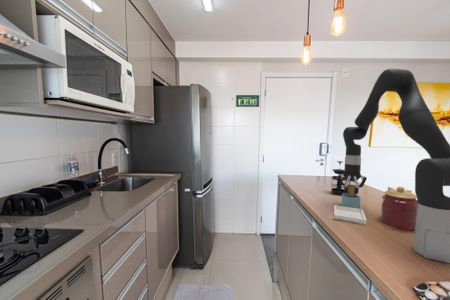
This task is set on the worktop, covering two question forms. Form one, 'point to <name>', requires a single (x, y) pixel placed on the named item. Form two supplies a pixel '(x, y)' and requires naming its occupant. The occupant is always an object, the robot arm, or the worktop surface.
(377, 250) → the worktop surface
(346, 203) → the teal pot
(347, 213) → the white tray
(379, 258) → the worktop surface
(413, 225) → the canister
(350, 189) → the walnut peg
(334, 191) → the french press
